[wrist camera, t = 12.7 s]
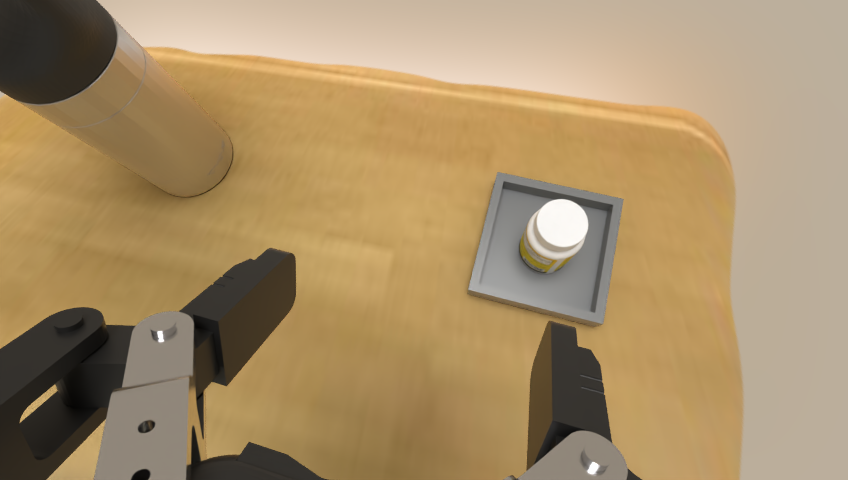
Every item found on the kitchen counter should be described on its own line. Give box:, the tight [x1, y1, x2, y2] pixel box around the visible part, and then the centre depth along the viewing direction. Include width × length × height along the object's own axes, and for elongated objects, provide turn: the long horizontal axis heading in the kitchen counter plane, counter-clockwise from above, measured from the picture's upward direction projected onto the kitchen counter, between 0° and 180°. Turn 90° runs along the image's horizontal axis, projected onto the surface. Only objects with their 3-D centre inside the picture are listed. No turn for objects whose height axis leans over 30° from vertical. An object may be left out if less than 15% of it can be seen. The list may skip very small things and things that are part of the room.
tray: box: [468, 172, 623, 327], centre depth 42 cm, size 12×12×2 cm
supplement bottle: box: [519, 199, 588, 274], centre depth 38 cm, size 5×5×8 cm
